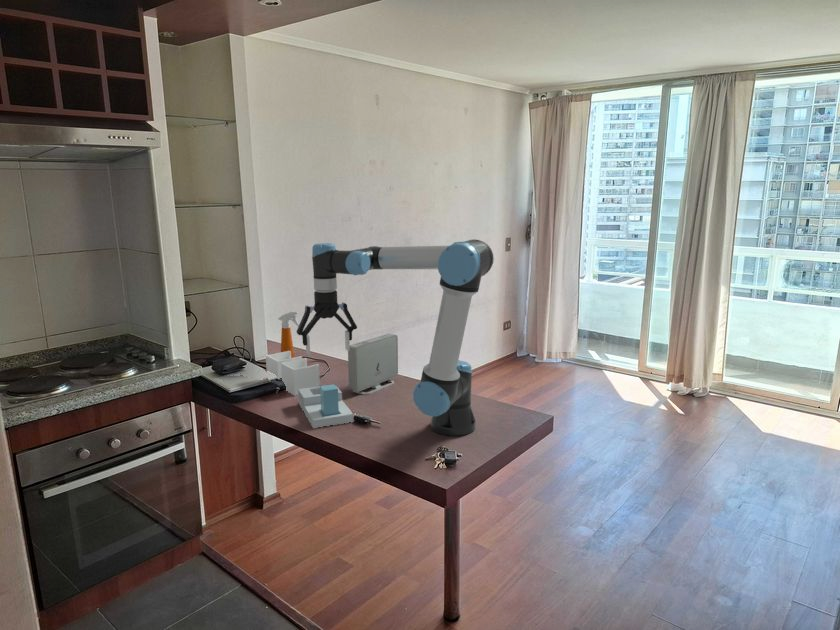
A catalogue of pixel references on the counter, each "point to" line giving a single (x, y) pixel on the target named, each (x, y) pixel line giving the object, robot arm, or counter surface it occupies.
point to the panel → (312, 408)
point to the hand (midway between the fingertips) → (328, 352)
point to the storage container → (293, 371)
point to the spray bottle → (287, 332)
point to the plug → (329, 400)
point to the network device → (373, 363)
